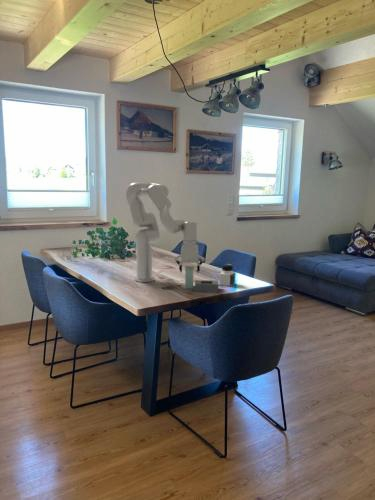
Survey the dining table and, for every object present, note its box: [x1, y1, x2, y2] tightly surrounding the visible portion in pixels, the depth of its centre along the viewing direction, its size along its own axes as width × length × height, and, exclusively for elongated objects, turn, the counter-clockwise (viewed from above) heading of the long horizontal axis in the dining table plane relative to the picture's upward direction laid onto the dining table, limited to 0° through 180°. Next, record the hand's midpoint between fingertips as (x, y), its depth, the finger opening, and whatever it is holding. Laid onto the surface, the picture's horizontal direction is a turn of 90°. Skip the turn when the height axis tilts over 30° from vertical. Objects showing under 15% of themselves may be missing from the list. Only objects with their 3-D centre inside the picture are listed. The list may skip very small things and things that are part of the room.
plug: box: [184, 265, 195, 288], centre depth 229 cm, size 5×5×12 cm
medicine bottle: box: [218, 263, 236, 287], centre depth 238 cm, size 7×7×12 cm
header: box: [194, 279, 219, 293], centre depth 226 cm, size 9×13×4 cm
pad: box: [182, 284, 195, 290], centre depth 230 cm, size 7×7×1 cm
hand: (189, 272), depth 229 cm, fingers open, 9 cm apart
